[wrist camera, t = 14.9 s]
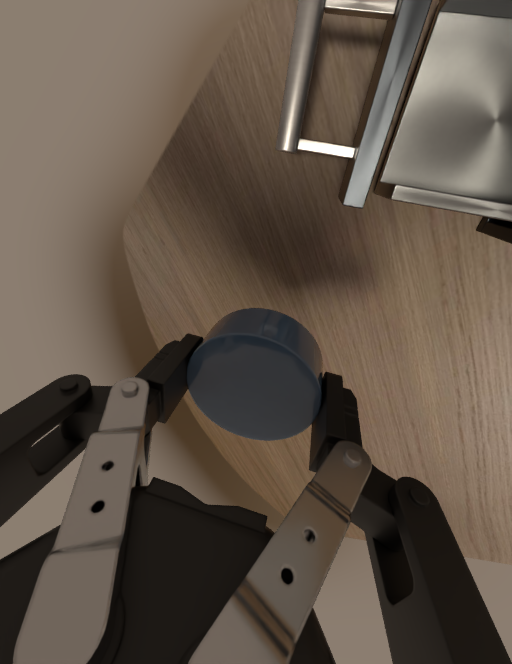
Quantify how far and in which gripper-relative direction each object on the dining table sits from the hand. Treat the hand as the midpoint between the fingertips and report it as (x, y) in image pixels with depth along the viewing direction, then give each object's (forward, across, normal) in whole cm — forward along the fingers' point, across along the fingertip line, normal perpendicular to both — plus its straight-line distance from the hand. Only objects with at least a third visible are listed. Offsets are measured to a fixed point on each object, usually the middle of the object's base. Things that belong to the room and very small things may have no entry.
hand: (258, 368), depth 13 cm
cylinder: (+1, 0, 0) cm, 1 cm away
